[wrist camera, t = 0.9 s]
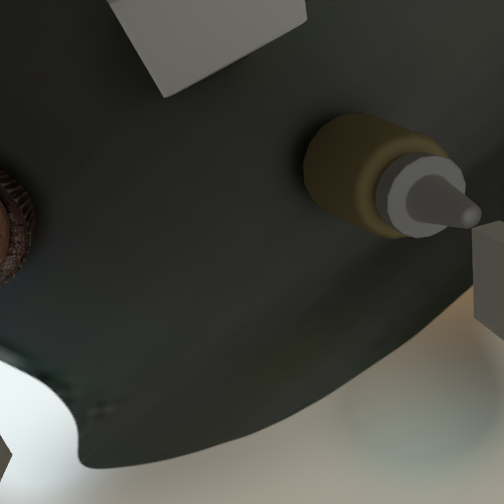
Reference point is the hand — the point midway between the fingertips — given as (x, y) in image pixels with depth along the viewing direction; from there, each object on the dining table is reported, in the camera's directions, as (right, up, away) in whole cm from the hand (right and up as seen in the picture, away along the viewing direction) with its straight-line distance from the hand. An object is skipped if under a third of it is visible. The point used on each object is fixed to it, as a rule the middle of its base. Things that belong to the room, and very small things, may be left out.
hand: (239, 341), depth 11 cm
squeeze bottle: (+8, +10, +26) cm, 29 cm away
